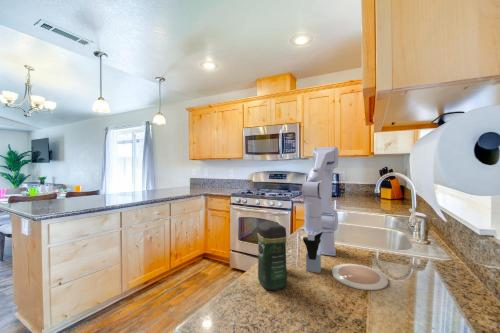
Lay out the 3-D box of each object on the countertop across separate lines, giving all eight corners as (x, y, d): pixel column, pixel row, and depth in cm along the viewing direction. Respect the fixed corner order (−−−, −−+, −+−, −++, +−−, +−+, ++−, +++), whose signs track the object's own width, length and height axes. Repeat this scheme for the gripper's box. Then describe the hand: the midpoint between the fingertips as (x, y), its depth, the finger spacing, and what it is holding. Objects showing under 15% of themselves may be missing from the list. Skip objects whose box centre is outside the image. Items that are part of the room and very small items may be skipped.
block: (308, 265, 81) (307, 248, 81) (321, 267, 80) (320, 250, 80) (306, 270, 77) (306, 253, 77) (320, 273, 75) (319, 255, 75)
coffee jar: (291, 288, 66) (290, 225, 66) (265, 293, 63) (264, 227, 64) (277, 273, 75) (276, 218, 75) (255, 277, 73) (254, 220, 73)
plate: (332, 263, 83) (332, 260, 83) (382, 269, 77) (382, 266, 77) (331, 284, 68) (331, 281, 68) (393, 294, 62) (393, 290, 62)
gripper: (304, 211, 87) (304, 246, 86) (297, 219, 73) (298, 261, 73) (323, 212, 84) (323, 249, 84) (320, 221, 71) (321, 264, 70)
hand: (313, 255), depth 78 cm, fingers open, 7 cm apart
